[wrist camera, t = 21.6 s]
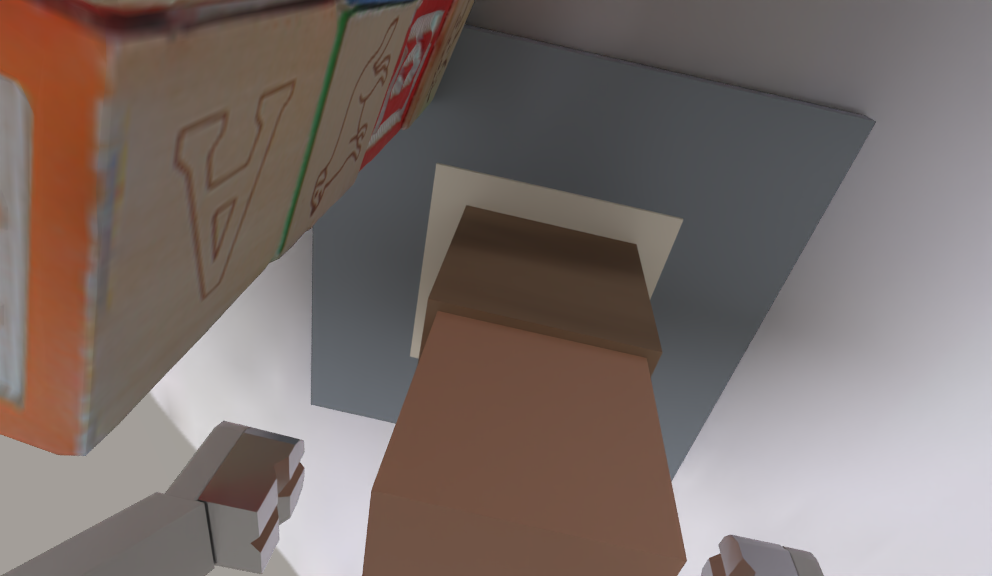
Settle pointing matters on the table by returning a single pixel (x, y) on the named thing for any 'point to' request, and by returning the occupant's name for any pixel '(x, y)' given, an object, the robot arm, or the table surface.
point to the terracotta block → (523, 463)
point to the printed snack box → (175, 174)
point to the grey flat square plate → (579, 210)
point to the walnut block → (546, 283)
